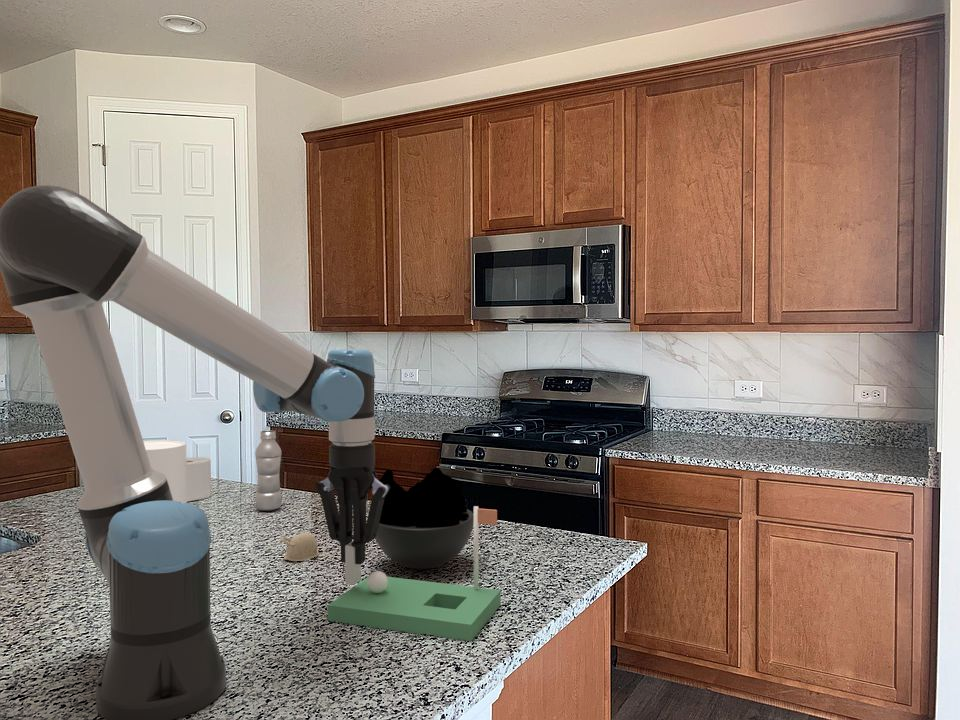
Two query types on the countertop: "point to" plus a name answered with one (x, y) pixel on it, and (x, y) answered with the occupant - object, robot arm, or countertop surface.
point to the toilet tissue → (198, 478)
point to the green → (423, 602)
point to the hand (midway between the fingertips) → (353, 581)
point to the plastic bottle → (268, 472)
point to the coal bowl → (424, 521)
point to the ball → (377, 582)
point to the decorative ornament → (301, 547)
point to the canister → (170, 464)
